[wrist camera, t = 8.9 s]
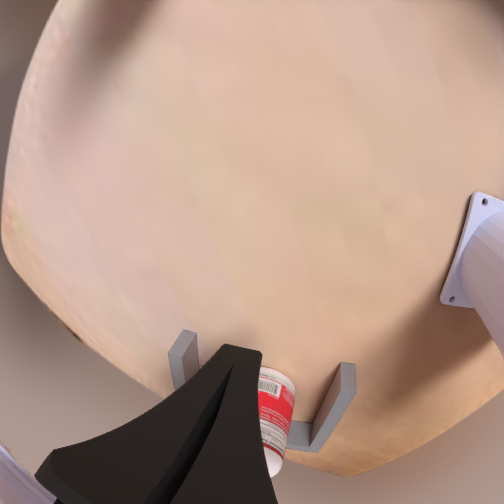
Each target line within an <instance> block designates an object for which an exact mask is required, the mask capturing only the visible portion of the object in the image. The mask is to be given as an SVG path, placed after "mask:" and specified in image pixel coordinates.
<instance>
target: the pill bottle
mask: <svg viewBox="0 0 504 504" xmlns="http://www.w3.org/2000/svg"><path fill="white" fill-rule="evenodd" d="M294 401H295V387H294V385H293V383H292V382H291V380H290V379H289V378H288V377H287V376H285V375H284V374H282V373H281V372H279V371H277V370H274V369H271V368H267V367H261V368H260V374H259V381H258V404H259V418H260V427H261V434H262V441H263V447H264V452H265V457H266V462H267V466H268V471H269V475H270V478H271V477H273V476H274V475H276V474H277V473H278V472H279V471H280V469H281V466H282V463H283V458H284V453H285V449H286V444H287V439H288V434H289V429H290V424H291V418H292V413H293V407H294Z"/></svg>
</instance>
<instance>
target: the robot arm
mask: <svg viewBox="0 0 504 504" xmlns="http://www.w3.org/2000/svg"><path fill="white" fill-rule="evenodd" d="M484 198H485V203H484V204H483V205H482V200H483V199H484ZM452 296H453V298H452V299H451V300H450V298H451V297H452ZM440 301H441V303H442V304H445V305H452V306H459V307H467V308H474V309H475V310H476V312H477V313H478V315H479V316H480V318H481V320H482V321H483V323H484V325H485V326H486V328H487V330H488V331H489V333H490V335H491V336H492V338H493V340H494V342H495V343H496V345H497V347H498V349H499V351H500V353H501V354H502V356H503V358H504V201H502V200H500V199H497V198H495V197H492V196H489V195H487V194H484V193H481V192H478V191H476V192H474V193H473V194H472V197H471V201H470V205H469V209H468V213H467V217H466V221H465V225H464V228H463V232H462V235H461V238H460V242H459V245H458V248H457V251H456V254H455V257H454V260H453V263H452V266H451V268H450V271H449V274H448V277H447V279H446V282H445V284H444V287H443V289H442V292H441V294H440ZM261 361H262V353H261V352H260V351H256V350H251V349H247V348H242V347H238V346H233V345H229V344H224V345H222V346H221V347H220V348H219V350H218V351H217V352H216V353H215V354H214V355H213V356H212V357H211V359H210V360H209V361H208V362H207V363H206V364H205V365H204V366H203V367H202V368H201V369H200V370H199V371H198V372H197V373H195V374H194V375H193V376H192V377H191V378H190V379H189V380H188V381H187V382H186V383H184V384H183V385H182V386H181V387H180V388H178V389H177V390H176V391H175V392H173V393H172V394H171V395H170V396H168V397H167V398H166V399H165V400H163V401H162V402H160V403H159V404H158V405H156V406H155V407H153V408H152V409H150V410H149V411H147V412H145V413H144V414H142V415H141V416H139V417H137V418H135V419H134V420H132V421H130V422H128V423H126V424H124V425H123V426H121V427H118V428H116V429H114V430H112V431H110V432H107V433H105V434H103V435H100V436H97V437H95V438H92V439H90V440H87V441H84V442H81V443H78V444H74V445H70V446H66V447H62V448H58V449H54V450H53V451H52V452H51V453H50V454H49V455H48V456H47V458H46V459H45V461H44V462H43V463H42V465H41V466H40V468H39V469H38V471H37V472H36V474H35V475H33V474H31V473H30V472H29V471H28V470H27V469H26V468H25V467H24V466H23V465H22V464H21V463H20V462H19V461H18V460H17V459H16V458H15V457H14V456H13V455H12V454H11V453H10V450H9V449H8V448H7V447H6V446H5V445H4V444H3V442H1V440H0V504H278V502H277V499H276V496H275V492H274V489H273V485H272V482H271V478H270V475H269V471H268V466H267V462H266V457H265V452H264V447H263V441H262V434H261V427H260V418H259V404H258V381H259V374H260V368H261Z"/></svg>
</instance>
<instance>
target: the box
mask: <svg viewBox="0 0 504 504" xmlns="http://www.w3.org/2000/svg"><path fill="white" fill-rule="evenodd" d="M168 357H169V362H170V368H171V373H172V378H173V383H174V388H175V391H176V390H177V389H178V388H180V387H181V386H182V385H183V384H184V383H186V382H187V381H188V380H189V379H190V378H191V377H192V376H193V375H194V374H195V373H197V372H198V371H199V363H198V349H197V334H196V333H194V332H190V331H186V330H183V331H182V333H181V334H180V336H179V337H178V338H177V340H176V341H175V343H174V344H173V346H172V347H171V349H170V350H169V352H168ZM355 394H356V374H355V364H351V363H343V362H341V363H340V366H339V368H338V371H337V373H336V375H335V378H334V380H333V382H332V384H331V387H330V389H329V391H328V393H327V395H326V397H325V400H324V402H323V404H322V406H321V408H320V410H319V412H318V414H317V416H316V418H315V420H314V422H313V424H312V423H305V422H298V421H292V420H291V424H290V429H289V434H288V439H287V444H286V449H292V450H299V451H307V452H315V453H318V452H319V451H320V449H321V448H322V447H323V445H324V444H325V442H326V441H327V439H328V438H329V436H330V435H331V433H332V432H333V430H334V429H335V427H336V425H337V424H338V422H339V421H340V419H341V417H342V416H343V414H344V413H345V411H346V409H347V408H348V406H349V404H350V402H351V401H352V399H353V397H354V395H355Z"/></svg>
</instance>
